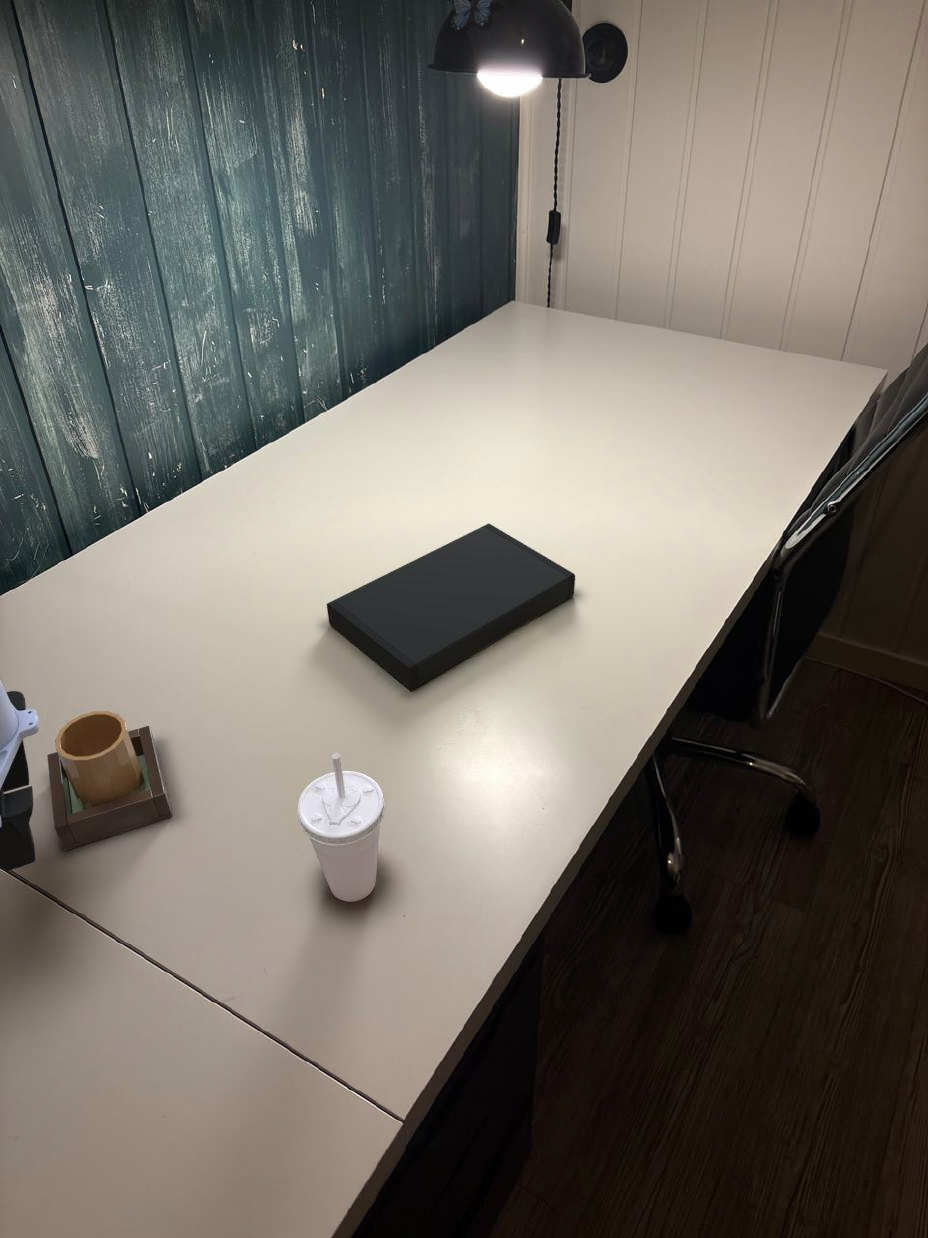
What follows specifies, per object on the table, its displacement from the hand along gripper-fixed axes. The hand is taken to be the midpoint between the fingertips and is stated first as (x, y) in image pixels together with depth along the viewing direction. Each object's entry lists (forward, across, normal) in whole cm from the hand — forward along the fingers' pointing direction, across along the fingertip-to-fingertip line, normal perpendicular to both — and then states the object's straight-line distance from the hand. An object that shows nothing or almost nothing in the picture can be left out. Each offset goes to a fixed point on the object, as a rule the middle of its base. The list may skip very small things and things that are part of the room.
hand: (17, 823), depth 66 cm
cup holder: (+9, +9, -6) cm, 14 cm away
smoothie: (+10, -8, -22) cm, 25 cm away
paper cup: (+9, +9, -6) cm, 14 cm away
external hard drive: (+10, +21, -43) cm, 49 cm away
